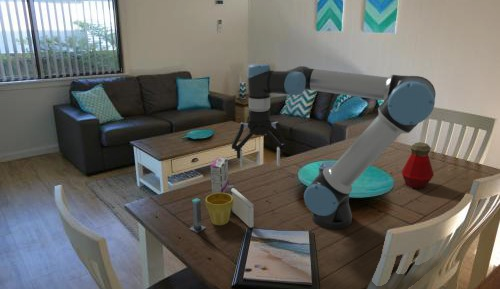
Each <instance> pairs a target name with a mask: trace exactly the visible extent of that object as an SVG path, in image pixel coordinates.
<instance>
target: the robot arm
mask: <svg viewBox="0 0 500 289" xmlns="http://www.w3.org/2000/svg"><path fill="white" fill-rule="evenodd" d="M247 69H248V70H247V71H248V73H247V74H248V75H247V79H248V80H247V82H248V84H247V86H248V109H249V110H248V123H246V122H243V121H240V124H239V129H238V131H237V133H236V135H235V137H234V140H233V141H232V144H231V149H233V150H235V151H236V159H238V160H239V166H240V169H244V168H243V166H244V165H243V147H244V146H245V145H246V143H247V142H248V141H249V140H250V139H251V138H252V136H265V135H267V136H268V137H269V138H270V139H271V141H273V143H274V144H276V145H277V146H276V165H277V167H281V164H280V163H281V158H283V156H284V149H285V148H288V147H289V144H288V142H287V140H286V139H285V137H284V135H283V132H282V130H281V128H280V124H279V121H277V120H276V121H275V122H271V110H270V108H271V94H276V95H279V94H280V95H287V96H289V95H290V96H300V95H302V94H303V93H304V91H315V92H322V93H329V94H336V95H345V96H351V97H358V98H365V99H372V100H378V101H383V102H382V103H381V104H380V105H379V107H378V108H377V110H378V114H377V116H376V117H375V118H374V119H373V121H372V122H371V123H370V124H369V125H368V126H367V127H366V129H365V130H364V131H363V132H362V133H360V135H359V136H358V137H357V138H356V139H355V141H354V142H352V144H351V146H350V147H348V148H347V149H346V150H345V152H344V153H343V154H342V155H341V156H340V157H339V159H338V160H337V161H334V160H332V161H331V160H327V161H323V162H320V164H319V167H318V175H317V176H316V177H315V178H314V180H313V181H312V182H311V183H310V184H309V185H308V186H307V187H306V188H305V191H304V193H303V201H304V205H305V207H306V208H307V210H309V211H310V212H311V213H312V214H311V220H312V221H313V223H315V224H316V225H318V226H320V227H322V228H326V229H331V230H341V229H345V228H348V227H349V226H351V224H352V222H353V221H352V219H353V214H352V211H351V206H350V204H349V202H350V194H351V193H352V191H353V188H352V185H353V184H354V183H355V182H356V181H357V180H358V179H359V178H360V177H361V176H362V174H364V173H365V172H366V170H368V168H370V167H371V165H372V164H373V163H374V162H375V161H376V160H377V159H378V158H379V157H380V156H381V155H382V154H383V153H384V152H385V151H386V150H387V148H389V147H390V146H391V144H393V142H395V141H396V140H397V138H398V137H400V135H401V134H409V133H411V131H412V130H414V129H415V127H416V126H418V124H420V123H422V122H423V121H425V120H426V119H428V117H429V116H431V114H432V112H433V110H434V108H435V103H436V102H435V101H436V100H435V99H436V89H435V86H434V85H433V83H432V82H431V81H430V80H429V79H428V78H426V77H424V76H419V75H400V74H399V75H398V74H391V75H390V76H388V77H387V76H379V75H370V74H364V73H363V74H362V73H361V74H360V73H351V72H344V71H338V70H337V71H334V70H326V69H319V68H318V69H317V68H310V67H308V66H305V65H303V66H302V65H299V66H297V67H294V68H292V69H288V70H284V71H283V70H282V71H281V70H271V66H270V64H268V63H267V64H266V63H253V64H250V65H249V66H248V68H247ZM272 127H273V129H275V130H276V133H277V134H278V136H279V137H280V139H281V141H282V143H281V142H280V141H279V139H278V138H277V137H276V136H275V135H274V134H273V133H272V131H270V130H271V128H272ZM247 128H248V129H249V131H248V132H247V134H245V136H244V137H243V138H242V139H241V137H242V134H243V133H244V130H246V129H247ZM240 139H241V141H240V142H239V140H240ZM238 142H239V143H238Z"/></svg>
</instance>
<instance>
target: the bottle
mask: <svg viewBox="0 0 500 289" xmlns="http://www.w3.org/2000/svg"><path fill="white" fill-rule="evenodd" d="M431 149H432V148H431V146H430V145H429V144H428V143H426V142H421V141H419V142H418V141H417V142H414V144H412V145H411V146H410V150H411V154H410V155H409V156H408V159H407V160H406V162H405V164H404V166H403V168H402V171H401V174H402V178H403V180H404V182H405V185H406V187H408V186H409V187H408V188H410V187H412V188H411V189H414V188H422V189H424V188H423V187H425V188H426V187H427V185H428V184H429V182H430V181H431V179H433V177H434V175H435V174H434V170H433V167H432V163H431V160H430V156H429V153H430V152H431Z"/></svg>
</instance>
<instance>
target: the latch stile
mask: <svg viewBox="0 0 500 289" xmlns="http://www.w3.org/2000/svg"><path fill="white" fill-rule="evenodd" d="M191 202H192V218H193V219H192V220H193V225H192V226H191V227H189V228H188V229H189V231H193V232H194V233H197V234H199V233H200V232H202V231H204V230H206V229H207V227H206V226H205V225H202V208H201V207H202V206H201V205H202V204H201V202H202V201H201V199H200V198H197V197H196V198H194V199H191Z"/></svg>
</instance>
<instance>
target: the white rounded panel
mask: <svg viewBox="0 0 500 289" xmlns="http://www.w3.org/2000/svg"><path fill="white" fill-rule="evenodd" d="M235 187H236V186H235V185H233V184H231V185H230V184H229V186H228V191H229V192H233V193H232V197H233V207H232V211H233V212H234V213H233V214H235V215H236V216H237V217H238V218H239V219H240V220H241V221H242V222H243V223H245V225H247V226H248V227H249V228H254V224H255V223H254V216H255V215H254V212H255V211H254V207H255V204H254V203H253V202H251V201H250V200H249V199H247V197H245V196H244V195H243V194H241V192H239V190H237V189H236V188H235ZM229 192H228V193H229Z"/></svg>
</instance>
